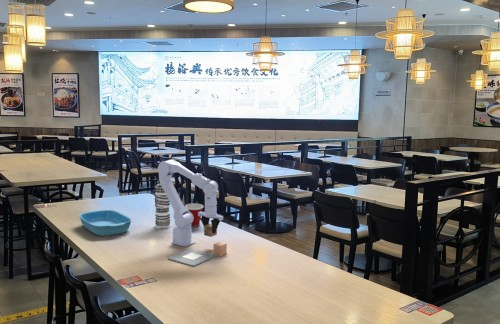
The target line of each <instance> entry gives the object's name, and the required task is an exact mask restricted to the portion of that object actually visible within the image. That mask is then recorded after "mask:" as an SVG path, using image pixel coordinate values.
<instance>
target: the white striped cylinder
mask: <svg viewBox="0 0 500 324" xmlns="http://www.w3.org/2000/svg"><path fill="white" fill-rule="evenodd" d="M154 188H155V194H154V203H155V204H154V206H155V207H154V208H155V215H154V216H155V220H154V222H155V227H156V228H158V229H166V228H170V227H171V214H170V207H171V204H170V201H169V199H168V197H167V195H166V193H165V191H164V189H163V187H162V185H161V183H158V184H156V186H154Z"/></svg>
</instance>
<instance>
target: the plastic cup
mask: <svg viewBox="0 0 500 324" xmlns="http://www.w3.org/2000/svg"><path fill="white" fill-rule="evenodd" d="M184 207H185V208H187V209H188V210H189V212H190V213H191V214H192V215H193V217H194V219H193V222H192V223H191V227H193V228H194V227H195V228H196V227H198V226H200V225H201V224H200V222H201V220H200V218H202V216H198V212H203V208H204V205H203V204H201V203H188V204H186V205H185V206H184Z"/></svg>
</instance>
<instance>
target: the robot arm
mask: <svg viewBox="0 0 500 324" xmlns="http://www.w3.org/2000/svg"><path fill="white" fill-rule="evenodd" d="M156 169H157V172H158V181H159V184H161V185H162V187H163V189H164V191H165V193H166V195H167V197H168V199H169V201H170V202H169V203H170V207H172V210H173V218H174V219H173V220H174V224H175V226H174V227H173V229H172V242H171V244H173V245H177V246H181V247H188V246H190V245H193V244H196V242H195V241H193V240H192V238H193V237H192V235H193V234H192V226H191V223H192V222H193V219H194V217H193V215H192V214H191V213H190V212H189V210H188V209H187V208H185V206H184V204H183V201H182V199H181V197H180V195H179V193H178V192H177V189H176V188H175V186H174V183H173V181H172V177H173V175H174V173H179V174H180V175H182V176H184V177H186V178H187V179H189V180H191V183H192V184H193V185H195V186H196V187H198V188H199V189H201V190H202V192H203V193H204V211H202V212H198V216H201V218H200V222H201V224H202V227H204V225H207V224H212V232H213V233H216V231H217V232H218V227H219V224H220V222H221V221H223V220H224V215H221V214H218V213H217V191H218V190H219V184H218V182H217V181H216V180H211V179H210V178H207V177H206V176H203V174H202V173H197V172H196V173H194V172H193V171H191V170H190V169H188V168H186V167H185V166H184V165H182V164H181V163H180V162H179V161H177V160H175V159H172V158H171V159H168V160H163V161H160V162H159V163H158V167H156ZM210 219H211V220H210Z"/></svg>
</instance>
